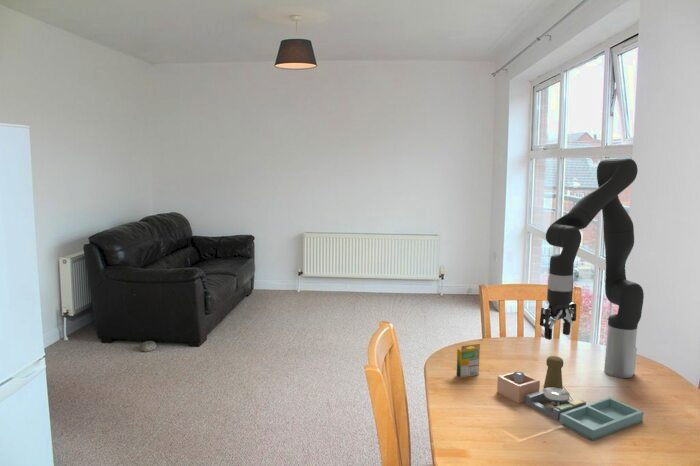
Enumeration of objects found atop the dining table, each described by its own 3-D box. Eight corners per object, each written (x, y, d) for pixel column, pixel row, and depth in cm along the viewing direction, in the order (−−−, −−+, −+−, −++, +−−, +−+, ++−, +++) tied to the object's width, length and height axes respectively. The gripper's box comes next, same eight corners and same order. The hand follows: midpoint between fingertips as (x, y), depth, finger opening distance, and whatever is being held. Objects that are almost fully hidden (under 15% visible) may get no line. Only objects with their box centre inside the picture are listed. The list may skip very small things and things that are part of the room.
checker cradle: (552, 397, 175) (553, 386, 174) (585, 413, 165) (586, 401, 164) (525, 405, 169) (526, 394, 169) (557, 422, 159) (558, 410, 158)
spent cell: (517, 391, 178) (518, 370, 177) (525, 395, 175) (526, 374, 174) (510, 393, 176) (511, 372, 175) (517, 397, 173) (519, 376, 172)
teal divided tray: (608, 406, 169) (609, 396, 169) (642, 421, 160) (643, 411, 159) (559, 423, 158) (559, 413, 158) (592, 440, 149) (593, 430, 148)
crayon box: (474, 373, 194) (475, 341, 192) (479, 376, 191) (480, 343, 189) (456, 375, 192) (457, 343, 190) (460, 378, 189) (461, 346, 187)
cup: (517, 388, 182) (518, 370, 181) (538, 398, 174) (539, 380, 173) (496, 393, 177) (497, 375, 176) (518, 405, 170) (519, 386, 169)
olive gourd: (564, 394, 177) (566, 361, 176) (544, 392, 179) (546, 359, 177) (561, 386, 183) (563, 354, 182) (542, 384, 184) (544, 353, 183)
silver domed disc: (553, 396, 172) (554, 385, 171) (574, 406, 165) (575, 394, 165) (536, 402, 168) (537, 390, 167) (557, 412, 162) (557, 400, 161)
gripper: (565, 282, 182) (562, 329, 185) (535, 287, 175) (532, 337, 178) (585, 287, 176) (581, 336, 178) (554, 293, 169) (551, 344, 171)
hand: (557, 336), depth 178 cm, fingers open, 8 cm apart
